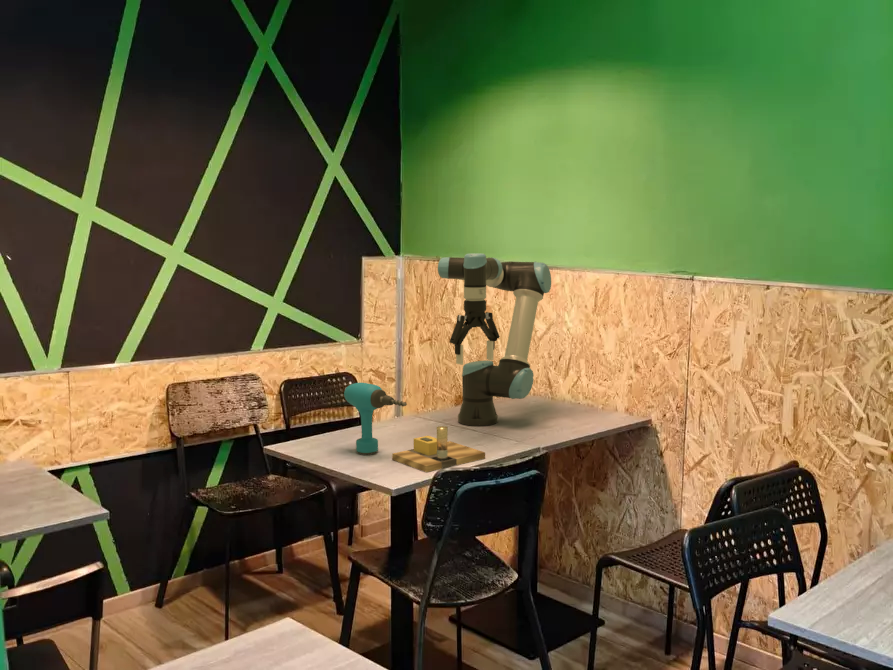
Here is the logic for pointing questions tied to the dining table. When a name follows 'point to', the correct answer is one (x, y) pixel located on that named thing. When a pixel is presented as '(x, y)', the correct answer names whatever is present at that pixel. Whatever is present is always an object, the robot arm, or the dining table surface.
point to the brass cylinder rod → (442, 443)
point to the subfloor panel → (430, 463)
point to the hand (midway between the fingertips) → (475, 361)
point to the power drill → (368, 411)
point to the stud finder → (426, 445)
